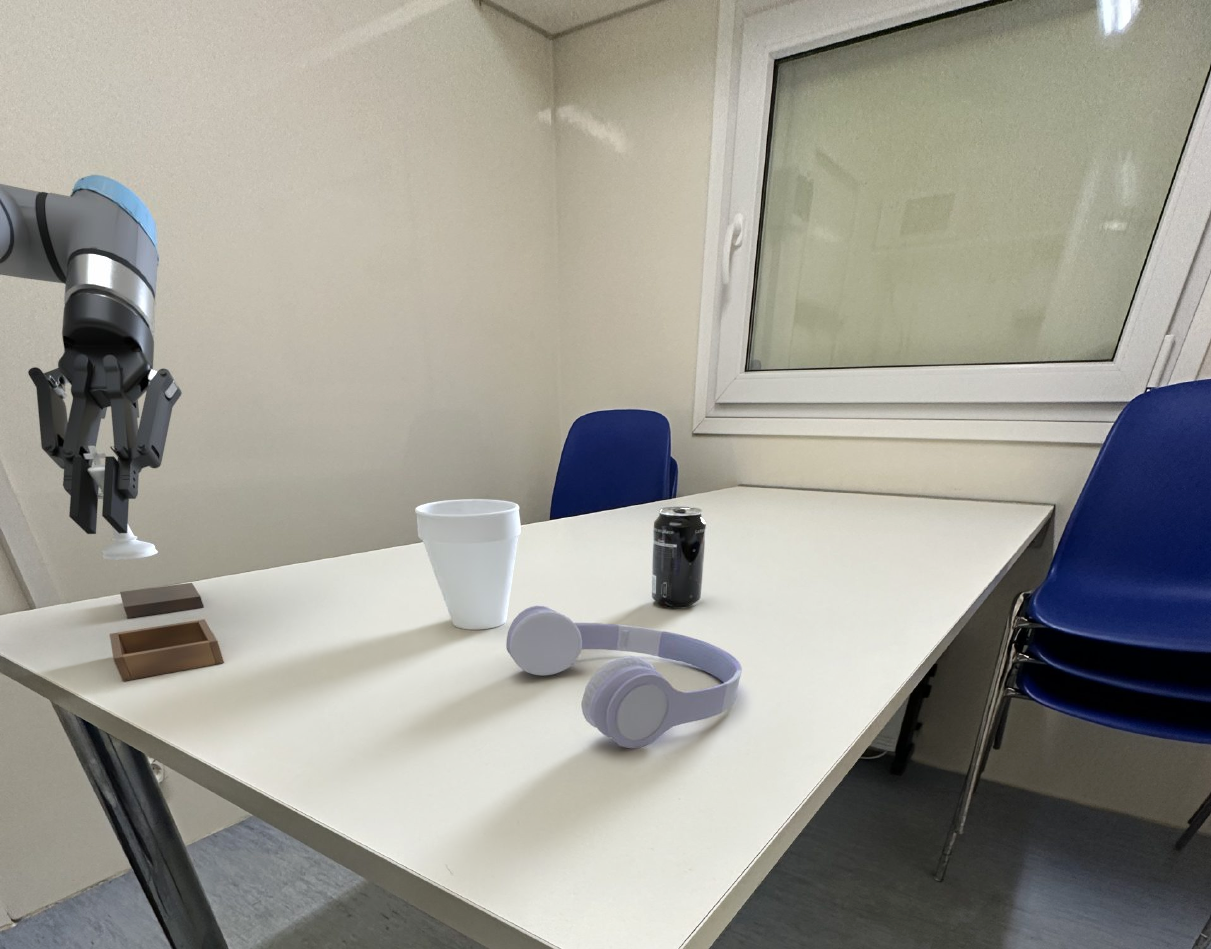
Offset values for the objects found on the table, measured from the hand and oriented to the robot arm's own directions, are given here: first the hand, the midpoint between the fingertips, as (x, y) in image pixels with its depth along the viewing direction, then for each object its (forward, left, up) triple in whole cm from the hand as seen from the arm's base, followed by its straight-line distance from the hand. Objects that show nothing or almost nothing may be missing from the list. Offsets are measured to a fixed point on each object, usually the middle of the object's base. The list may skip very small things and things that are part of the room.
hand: (99, 524), depth 64 cm
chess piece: (+2, +4, -4) cm, 5 cm away
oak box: (+2, +3, -15) cm, 15 cm away
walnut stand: (+3, +28, -15) cm, 31 cm away
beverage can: (+62, -12, -15) cm, 65 cm away
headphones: (+39, -34, -15) cm, 54 cm away
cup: (+36, -4, -15) cm, 39 cm away
